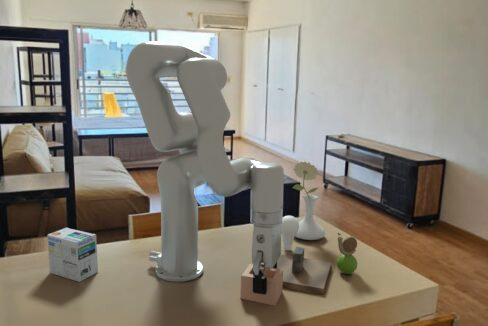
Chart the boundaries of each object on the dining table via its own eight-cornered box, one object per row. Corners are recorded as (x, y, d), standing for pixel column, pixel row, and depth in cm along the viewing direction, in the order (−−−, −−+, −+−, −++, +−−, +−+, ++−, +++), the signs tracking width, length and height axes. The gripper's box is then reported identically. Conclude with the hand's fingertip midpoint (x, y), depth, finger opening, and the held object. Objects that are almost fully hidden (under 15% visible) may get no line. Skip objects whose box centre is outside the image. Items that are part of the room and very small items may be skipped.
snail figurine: (329, 270, 121) (332, 229, 118) (348, 267, 123) (352, 226, 121) (340, 279, 116) (344, 236, 113) (360, 275, 118) (364, 233, 116)
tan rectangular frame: (275, 305, 102) (276, 281, 101) (240, 298, 104) (241, 275, 103) (282, 291, 108) (283, 269, 107) (248, 285, 111) (249, 263, 109)
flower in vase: (331, 237, 145) (337, 163, 140) (311, 246, 137) (317, 168, 132) (299, 226, 154) (304, 157, 149) (279, 234, 146) (283, 161, 141)
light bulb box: (98, 272, 115) (97, 233, 113) (79, 283, 109) (77, 242, 107) (68, 263, 119) (66, 226, 117) (48, 273, 113) (46, 234, 111)
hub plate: (260, 282, 112) (261, 257, 111) (275, 258, 127) (276, 235, 126) (322, 294, 108) (325, 268, 106) (330, 267, 123) (332, 244, 121)
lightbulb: (298, 254, 130) (300, 219, 128) (278, 254, 130) (279, 219, 128) (296, 246, 136) (298, 213, 134) (276, 246, 136) (278, 212, 134)
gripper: (272, 229, 93) (271, 303, 96) (290, 207, 109) (288, 271, 112) (239, 225, 95) (238, 298, 98) (261, 204, 111) (260, 267, 114)
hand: (265, 283), depth 105 cm, fingers open, 9 cm apart
